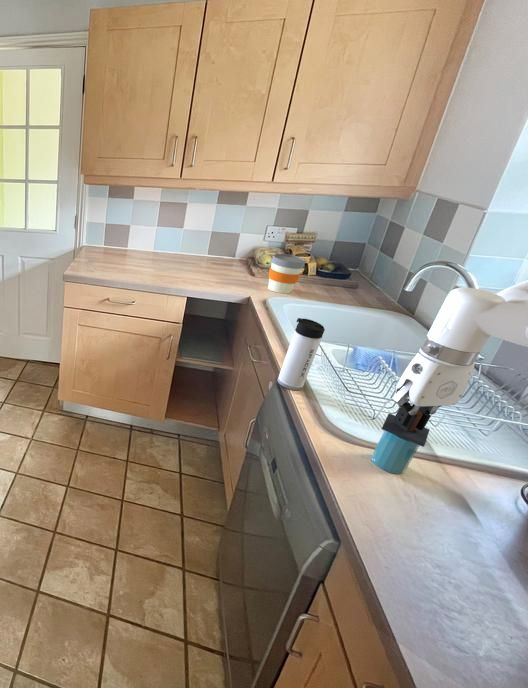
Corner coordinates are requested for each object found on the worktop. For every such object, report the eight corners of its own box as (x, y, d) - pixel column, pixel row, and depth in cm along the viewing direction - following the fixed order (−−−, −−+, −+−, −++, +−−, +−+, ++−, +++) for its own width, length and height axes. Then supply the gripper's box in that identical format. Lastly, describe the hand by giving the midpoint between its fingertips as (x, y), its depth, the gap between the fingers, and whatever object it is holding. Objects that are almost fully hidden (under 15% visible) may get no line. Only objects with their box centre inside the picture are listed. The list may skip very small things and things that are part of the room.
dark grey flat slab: (387, 415, 92) (397, 396, 90) (428, 432, 88) (439, 412, 85) (381, 429, 88) (391, 409, 86) (423, 447, 83) (435, 427, 81)
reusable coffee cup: (269, 282, 195) (279, 251, 188) (299, 290, 186) (310, 259, 180) (258, 288, 187) (268, 256, 181) (289, 297, 178) (300, 264, 172)
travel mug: (277, 375, 123) (298, 314, 114) (303, 383, 119) (326, 321, 111) (274, 384, 118) (296, 322, 110) (301, 393, 115) (326, 330, 106)
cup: (399, 459, 93) (416, 428, 89) (408, 478, 88) (427, 445, 84) (367, 451, 95) (383, 420, 91) (375, 468, 90) (392, 436, 87)
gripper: (430, 362, 75) (389, 440, 83) (507, 360, 77) (459, 437, 85) (392, 342, 82) (357, 415, 90) (464, 340, 84) (423, 413, 91)
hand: (407, 425), depth 87 cm, fingers closed on dark grey flat slab, 2 cm apart
